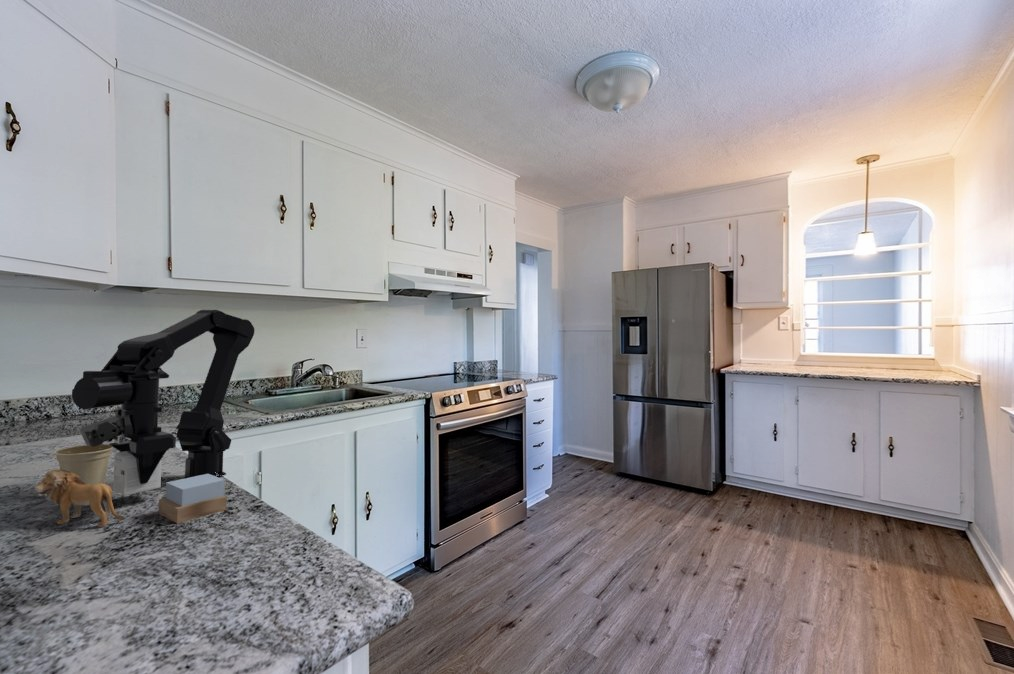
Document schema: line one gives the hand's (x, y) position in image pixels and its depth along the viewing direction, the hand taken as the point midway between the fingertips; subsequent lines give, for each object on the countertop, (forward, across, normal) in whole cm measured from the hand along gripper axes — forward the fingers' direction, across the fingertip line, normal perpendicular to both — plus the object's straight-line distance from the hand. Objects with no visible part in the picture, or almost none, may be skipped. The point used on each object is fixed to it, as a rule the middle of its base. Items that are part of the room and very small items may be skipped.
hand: (137, 480), depth 88 cm
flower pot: (+4, -17, -4) cm, 18 cm away
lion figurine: (+4, +5, -10) cm, 12 cm away
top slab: (+2, +15, +4) cm, 16 cm away
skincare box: (+2, 0, 0) cm, 2 cm away
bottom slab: (+4, +15, +4) cm, 16 cm away
